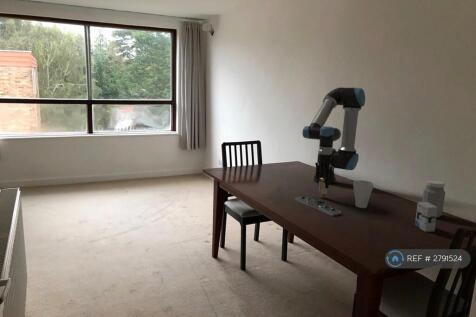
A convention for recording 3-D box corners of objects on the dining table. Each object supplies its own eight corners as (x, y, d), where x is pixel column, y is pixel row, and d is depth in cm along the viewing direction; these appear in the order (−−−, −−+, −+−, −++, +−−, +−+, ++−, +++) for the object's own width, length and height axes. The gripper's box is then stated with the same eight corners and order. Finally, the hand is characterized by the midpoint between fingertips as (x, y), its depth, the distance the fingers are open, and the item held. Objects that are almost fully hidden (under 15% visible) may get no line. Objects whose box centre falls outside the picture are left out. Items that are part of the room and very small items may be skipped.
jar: (417, 211, 192) (421, 179, 189) (435, 212, 192) (440, 179, 188) (426, 218, 183) (430, 184, 179) (445, 218, 182) (450, 184, 179)
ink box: (414, 224, 173) (417, 201, 170) (423, 224, 173) (427, 201, 171) (424, 231, 164) (428, 207, 162) (434, 231, 165) (438, 207, 163)
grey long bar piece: (294, 200, 206) (295, 194, 205) (303, 198, 209) (303, 192, 208) (331, 216, 182) (332, 209, 181) (340, 213, 185) (341, 207, 185)
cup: (361, 210, 191) (363, 186, 189) (347, 204, 200) (349, 181, 198) (375, 207, 196) (377, 184, 193) (360, 202, 205) (363, 179, 203)
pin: (322, 194, 215) (323, 176, 212) (328, 196, 211) (329, 178, 208) (316, 195, 212) (317, 177, 210) (322, 197, 208) (323, 179, 206)
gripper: (310, 151, 211) (308, 189, 216) (331, 156, 197) (328, 197, 202) (320, 150, 214) (317, 188, 219) (340, 155, 201) (337, 195, 206)
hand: (322, 192), depth 211 cm, fingers closed on pin, 3 cm apart
